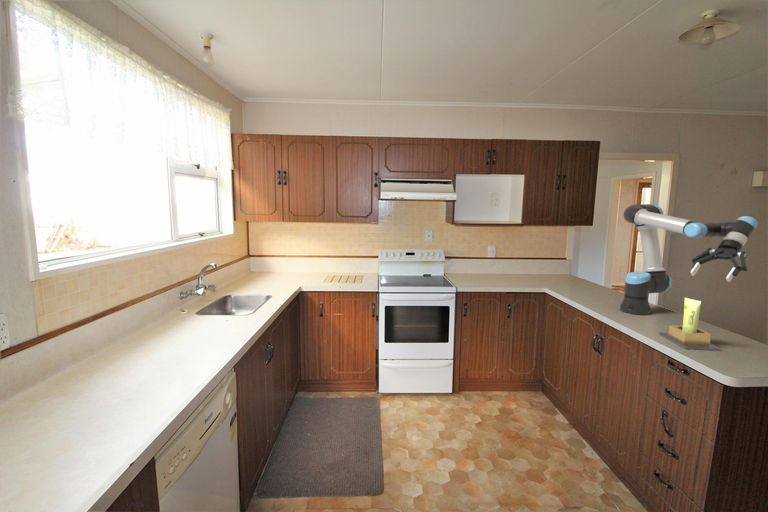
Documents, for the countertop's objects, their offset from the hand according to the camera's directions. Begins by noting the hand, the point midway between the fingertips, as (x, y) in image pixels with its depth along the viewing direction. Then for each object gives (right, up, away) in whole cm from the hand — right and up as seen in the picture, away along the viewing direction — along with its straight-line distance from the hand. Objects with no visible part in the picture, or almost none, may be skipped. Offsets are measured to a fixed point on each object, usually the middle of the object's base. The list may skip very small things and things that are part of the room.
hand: (709, 277), depth 162 cm
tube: (-11, -29, -1) cm, 31 cm away
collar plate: (-11, -30, -1) cm, 32 cm away
